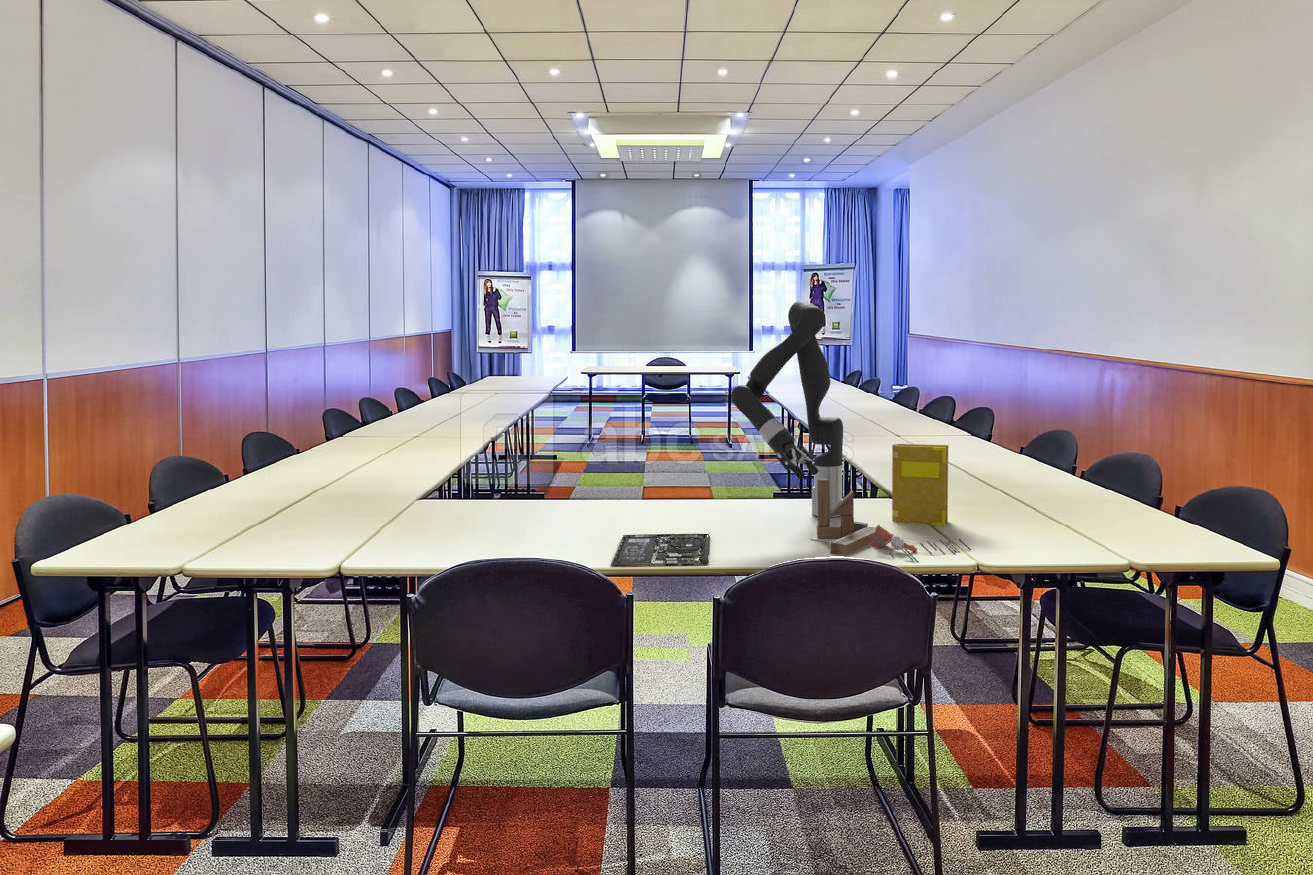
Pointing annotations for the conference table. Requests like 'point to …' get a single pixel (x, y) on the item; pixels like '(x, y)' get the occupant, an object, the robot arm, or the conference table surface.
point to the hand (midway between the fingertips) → (809, 475)
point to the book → (920, 484)
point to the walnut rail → (853, 539)
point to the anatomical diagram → (885, 537)
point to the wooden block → (833, 513)
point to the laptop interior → (662, 550)
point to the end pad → (824, 539)
